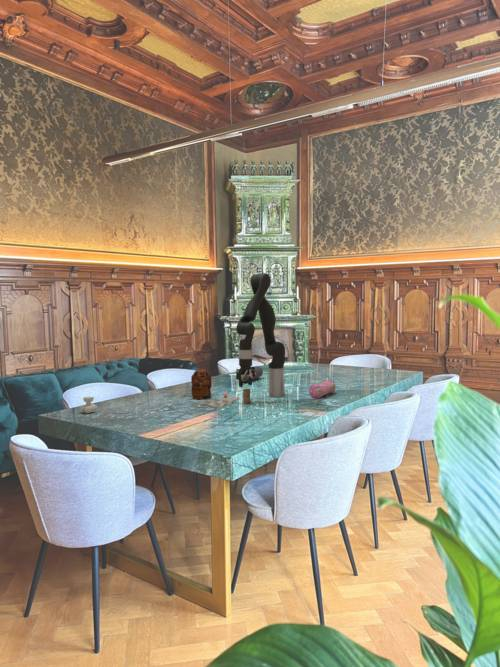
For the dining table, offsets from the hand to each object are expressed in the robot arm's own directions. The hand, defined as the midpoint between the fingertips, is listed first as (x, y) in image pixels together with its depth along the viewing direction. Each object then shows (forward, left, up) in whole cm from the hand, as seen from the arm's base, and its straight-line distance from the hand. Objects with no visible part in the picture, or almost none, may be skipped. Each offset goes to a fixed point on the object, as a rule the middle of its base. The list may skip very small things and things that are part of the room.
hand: (245, 385), depth 257 cm
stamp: (+63, -59, -10) cm, 86 cm away
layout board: (+11, -13, -10) cm, 19 cm away
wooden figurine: (+4, -31, -10) cm, 33 cm away
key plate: (-2, -14, -10) cm, 17 cm away
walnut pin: (0, 0, -10) cm, 10 cm away
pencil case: (-41, +27, -10) cm, 50 cm away
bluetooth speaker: (-59, -42, -10) cm, 73 cm away
